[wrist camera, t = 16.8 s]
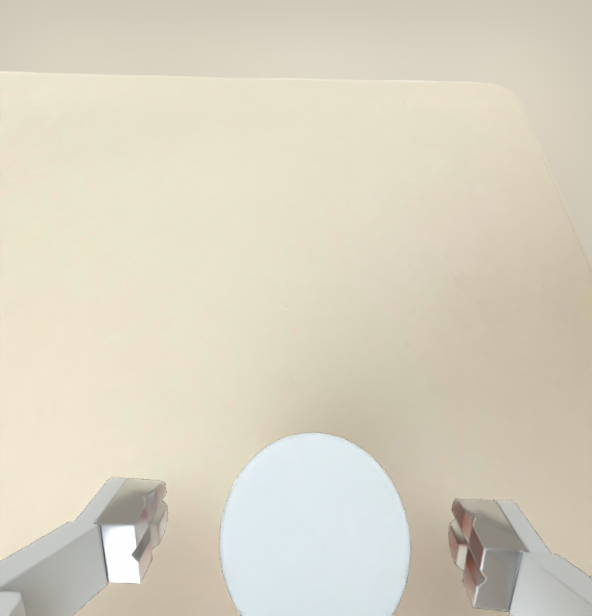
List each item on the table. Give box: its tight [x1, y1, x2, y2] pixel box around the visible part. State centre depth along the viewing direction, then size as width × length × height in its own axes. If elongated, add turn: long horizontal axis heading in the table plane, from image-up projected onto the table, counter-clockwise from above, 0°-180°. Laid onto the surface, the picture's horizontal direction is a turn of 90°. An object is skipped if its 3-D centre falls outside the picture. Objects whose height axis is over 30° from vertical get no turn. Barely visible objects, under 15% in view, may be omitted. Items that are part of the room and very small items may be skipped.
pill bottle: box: [219, 433, 411, 616], centre depth 11 cm, size 5×5×8 cm
